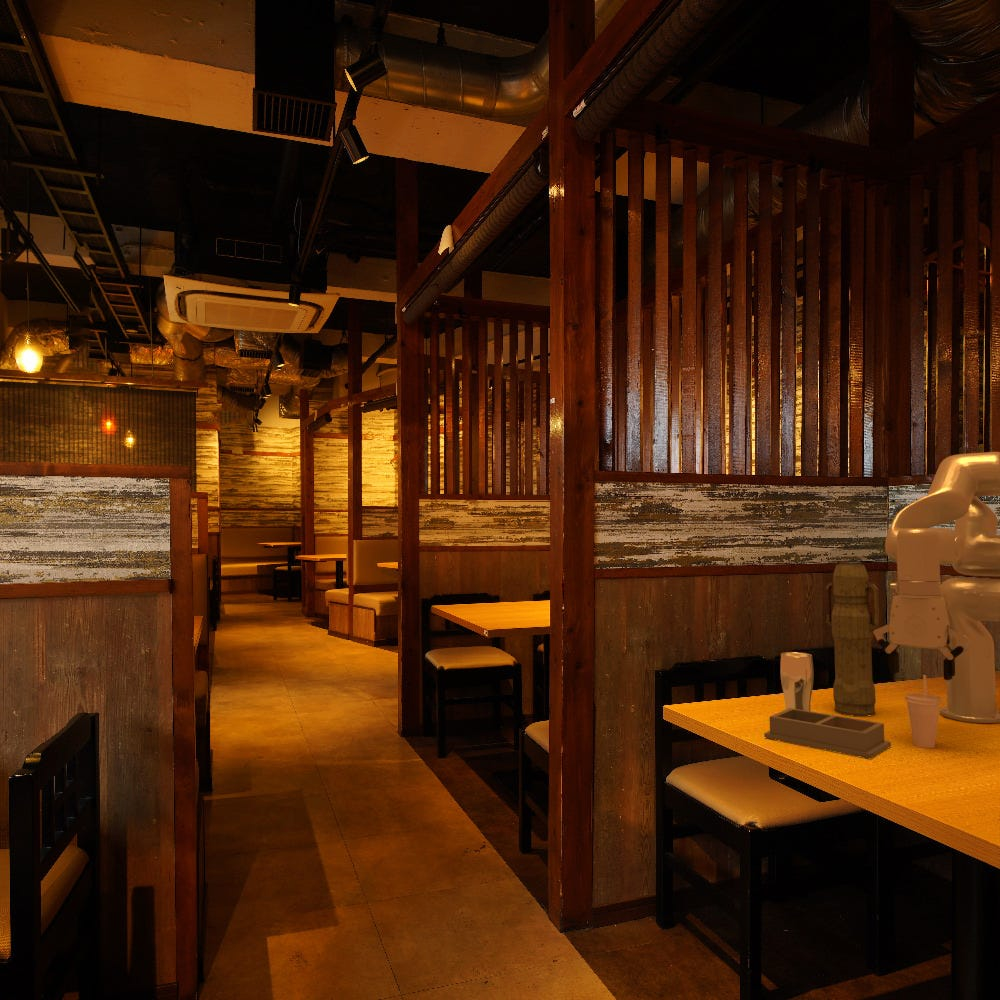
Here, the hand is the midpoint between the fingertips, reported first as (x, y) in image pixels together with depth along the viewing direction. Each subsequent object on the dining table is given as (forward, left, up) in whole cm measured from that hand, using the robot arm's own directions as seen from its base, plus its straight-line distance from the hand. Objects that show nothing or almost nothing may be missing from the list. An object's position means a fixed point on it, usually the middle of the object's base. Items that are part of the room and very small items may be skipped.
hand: (920, 676), depth 149 cm
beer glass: (-2, -26, -14) cm, 30 cm away
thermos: (-19, -20, -14) cm, 31 cm away
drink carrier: (+10, -15, -14) cm, 23 cm away
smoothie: (-1, 0, -14) cm, 14 cm away
